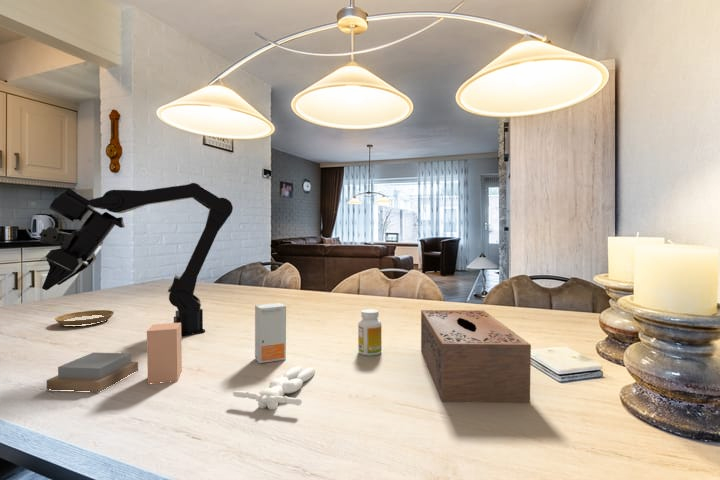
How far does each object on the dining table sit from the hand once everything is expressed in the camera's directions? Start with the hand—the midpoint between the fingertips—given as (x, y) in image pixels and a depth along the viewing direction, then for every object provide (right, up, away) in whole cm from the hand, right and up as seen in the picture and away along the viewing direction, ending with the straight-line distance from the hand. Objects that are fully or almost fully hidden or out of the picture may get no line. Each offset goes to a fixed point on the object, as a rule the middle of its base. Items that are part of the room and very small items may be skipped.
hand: (50, 286), depth 91 cm
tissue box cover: (+97, -16, -16) cm, 99 cm away
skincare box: (+56, -15, -9) cm, 58 cm away
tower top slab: (+25, -13, -20) cm, 35 cm away
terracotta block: (+38, -15, -19) cm, 45 cm away
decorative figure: (+62, -16, -24) cm, 69 cm away
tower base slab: (+25, -16, -20) cm, 36 cm away
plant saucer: (-9, -15, +24) cm, 30 cm away
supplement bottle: (+78, -15, -4) cm, 79 cm away
